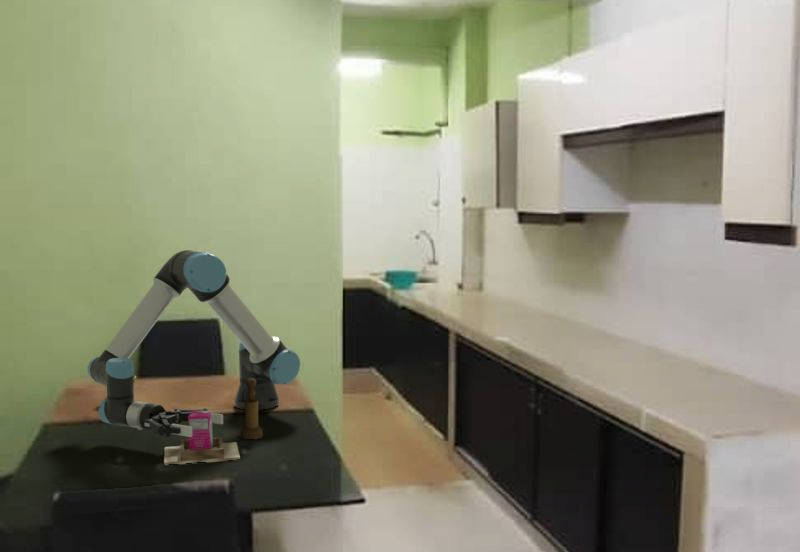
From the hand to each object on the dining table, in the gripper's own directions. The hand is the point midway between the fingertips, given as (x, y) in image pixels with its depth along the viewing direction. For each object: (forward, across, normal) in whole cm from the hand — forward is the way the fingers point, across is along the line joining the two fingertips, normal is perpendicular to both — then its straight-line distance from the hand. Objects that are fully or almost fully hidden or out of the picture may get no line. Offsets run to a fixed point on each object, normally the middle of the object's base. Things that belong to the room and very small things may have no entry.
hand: (207, 425), depth 227 cm
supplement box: (-2, 0, -8) cm, 9 cm away
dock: (-3, -1, -9) cm, 9 cm away
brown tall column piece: (0, -21, -9) cm, 23 cm away
